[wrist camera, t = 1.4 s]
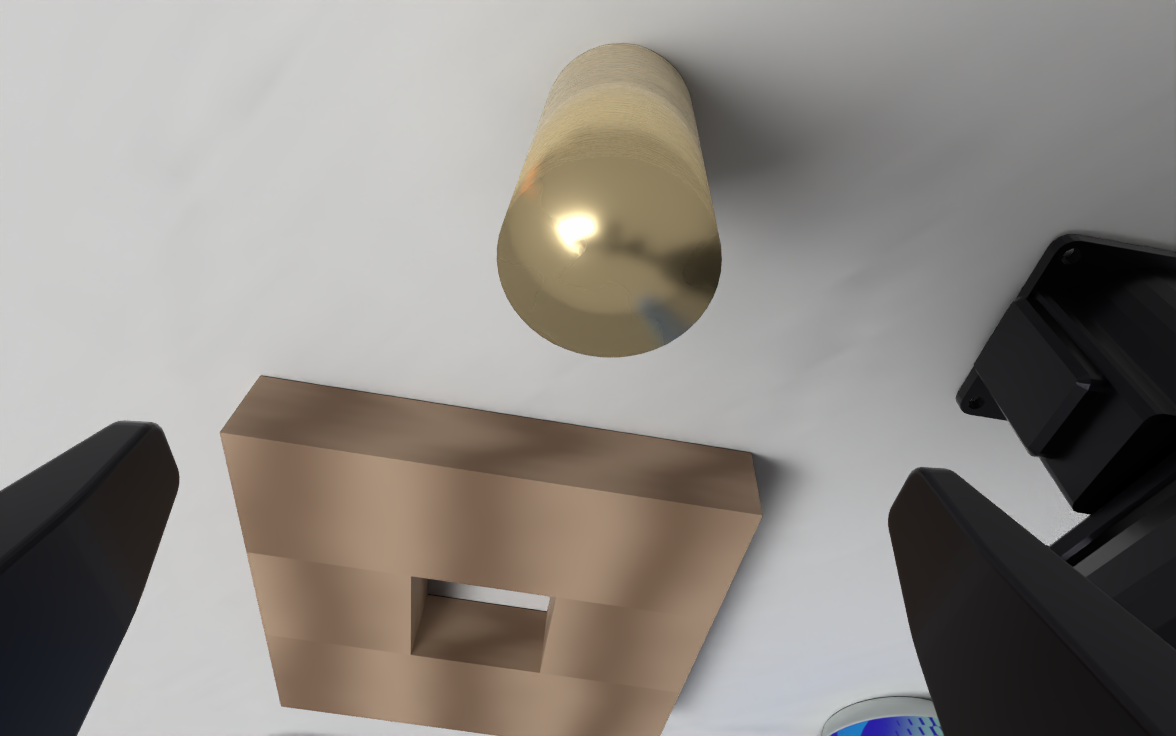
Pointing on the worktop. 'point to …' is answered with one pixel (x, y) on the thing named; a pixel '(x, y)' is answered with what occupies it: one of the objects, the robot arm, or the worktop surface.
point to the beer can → (885, 718)
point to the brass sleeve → (612, 210)
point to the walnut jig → (480, 560)
